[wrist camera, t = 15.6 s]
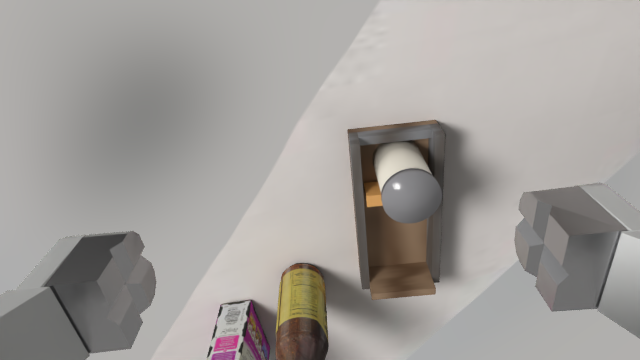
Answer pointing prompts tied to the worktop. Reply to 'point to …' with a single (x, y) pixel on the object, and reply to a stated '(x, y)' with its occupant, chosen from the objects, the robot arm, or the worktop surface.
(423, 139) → the lane
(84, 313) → the robot arm
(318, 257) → the worktop surface
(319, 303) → the sauce bottle
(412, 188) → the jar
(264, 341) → the candy bar box
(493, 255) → the worktop surface
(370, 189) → the pusher
